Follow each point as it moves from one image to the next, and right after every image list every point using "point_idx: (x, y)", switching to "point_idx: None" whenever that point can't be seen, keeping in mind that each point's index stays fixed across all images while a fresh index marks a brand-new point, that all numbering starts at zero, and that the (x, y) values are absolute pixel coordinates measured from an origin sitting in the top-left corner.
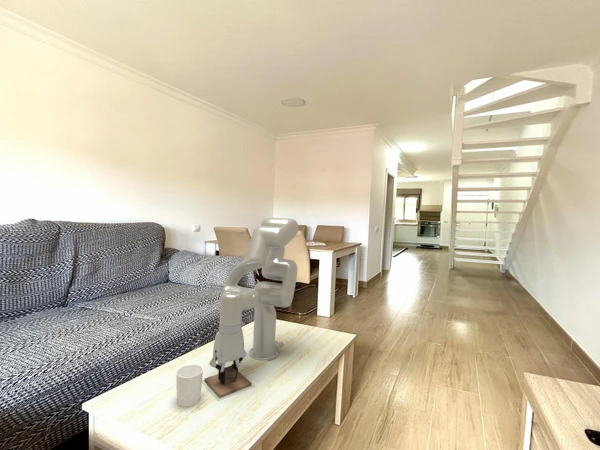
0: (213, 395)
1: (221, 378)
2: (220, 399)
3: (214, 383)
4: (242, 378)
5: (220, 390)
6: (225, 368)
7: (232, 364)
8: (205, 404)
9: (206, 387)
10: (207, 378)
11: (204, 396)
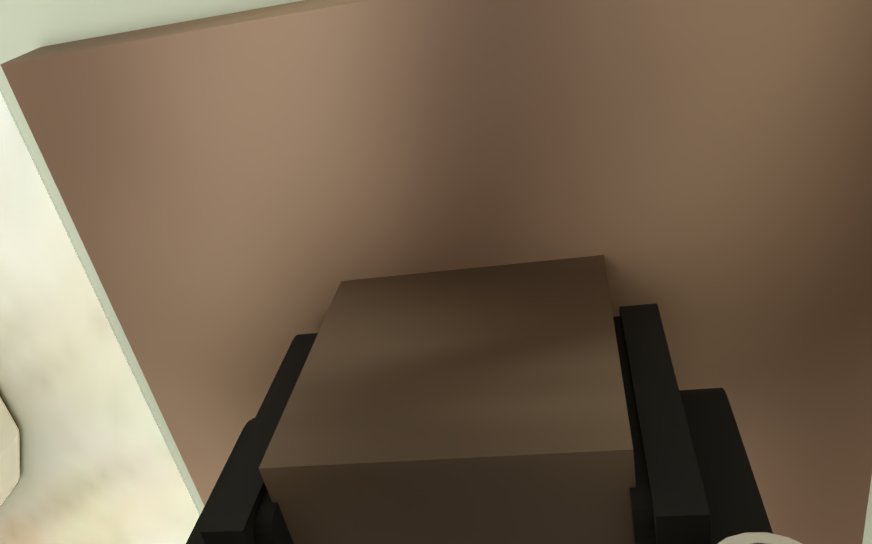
0: (198, 495)
1: None
2: None
3: (213, 339)
4: (795, 438)
5: None
6: (401, 520)
7: (669, 535)
8: (103, 538)
9: (92, 278)
10: (71, 96)
11: (85, 405)
